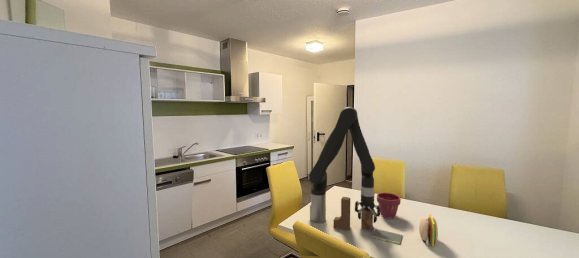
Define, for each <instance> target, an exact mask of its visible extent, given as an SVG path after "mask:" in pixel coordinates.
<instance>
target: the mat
mask: <svg viewBox="0 0 579 258" xmlns="http://www.w3.org/2000/svg"><path fill="white" fill-rule="evenodd" d="M371 238H373V239H377V240H381V241H385V242H387V243H393V244H396V245H401V243H402V239H403V234H401V233H397V232H393V231H389V230H384V229H380V228H375V230H374V232H373V234H372V236H371Z"/></svg>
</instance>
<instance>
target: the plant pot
mask: <svg viewBox="0 0 579 258" xmlns="http://www.w3.org/2000/svg"><path fill="white" fill-rule="evenodd" d="M376 202H377V203H378V205H380V216H381V217H383V218H387V219H395V218H396V217H397V212H398V210H399V209H398V208H399V206H400V205H401V197H400V196H399V194H395V193H389V192H379V193H377V195H376Z"/></svg>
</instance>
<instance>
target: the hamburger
mask: <svg viewBox="0 0 579 258" xmlns="http://www.w3.org/2000/svg"><path fill="white" fill-rule="evenodd" d="M418 224H419V225H418V232H419V235H420V238H421V239H422V240H423V241H425V244H426V246H429V242H430V244H431V247H435V244H436V243H437V241H438V239H439V238H438V236H439V230H438V222H437V219H436V218H435V217H433V216H432V213H429V214H428V217H426V216H423V217H422V218H421V219H420V221H419V223H418Z"/></svg>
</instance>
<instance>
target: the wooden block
mask: <svg viewBox="0 0 579 258" xmlns="http://www.w3.org/2000/svg"><path fill="white" fill-rule="evenodd" d="M333 228H337V229H342V230H346V231H349V229H350V228H351V197H350V196H349V197H348V196H342V197H341V199H340V216H336V217H334V219H333Z"/></svg>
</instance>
